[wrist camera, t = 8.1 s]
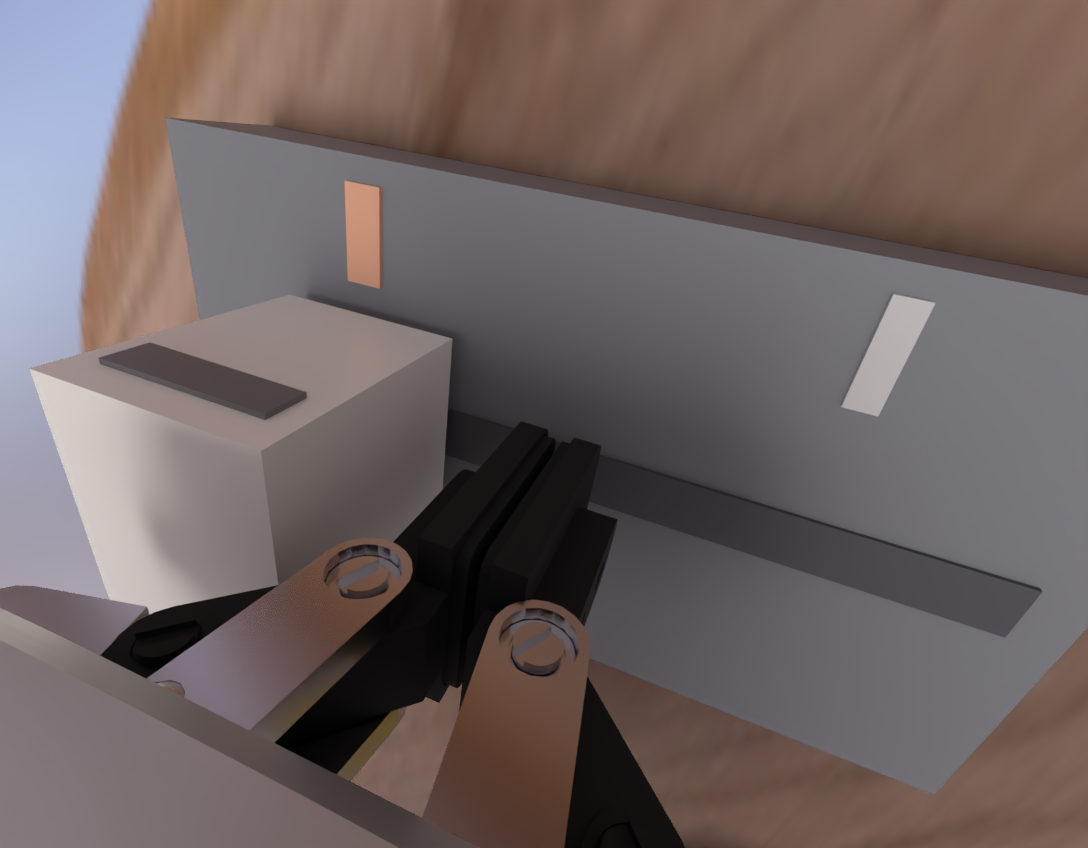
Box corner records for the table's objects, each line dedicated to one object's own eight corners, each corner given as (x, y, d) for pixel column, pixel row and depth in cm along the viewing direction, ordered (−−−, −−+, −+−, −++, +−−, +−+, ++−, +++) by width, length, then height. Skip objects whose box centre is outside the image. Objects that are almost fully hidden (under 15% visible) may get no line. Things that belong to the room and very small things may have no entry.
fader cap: (440, 528, 13) (293, 701, 9) (306, 479, 14) (114, 615, 10) (452, 334, 11) (259, 444, 7) (289, 290, 12) (27, 362, 7)
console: (902, 686, 15) (934, 799, 12) (302, 470, 19) (231, 519, 17) (1187, 296, 10) (1353, 348, 7) (271, 126, 14) (160, 117, 11)
